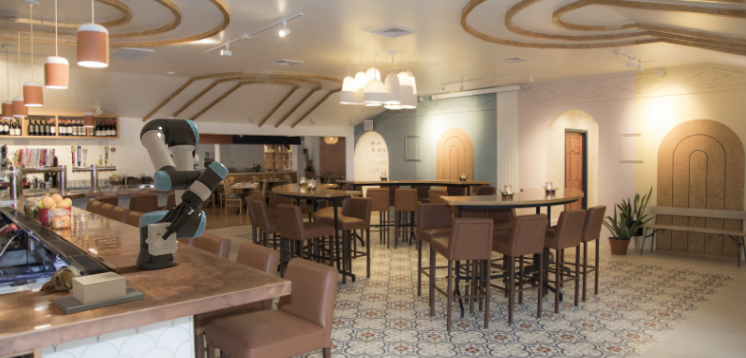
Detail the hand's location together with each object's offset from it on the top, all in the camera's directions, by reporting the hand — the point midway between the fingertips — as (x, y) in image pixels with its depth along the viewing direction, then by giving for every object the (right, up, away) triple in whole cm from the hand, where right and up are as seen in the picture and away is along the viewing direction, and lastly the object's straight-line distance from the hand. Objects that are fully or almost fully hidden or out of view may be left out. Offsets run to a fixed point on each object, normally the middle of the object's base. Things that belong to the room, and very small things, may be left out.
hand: (151, 244), depth 167 cm
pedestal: (-11, -16, -13) cm, 24 cm away
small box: (+2, -4, +3) cm, 5 cm away
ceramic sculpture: (-31, -16, +1) cm, 35 cm away
